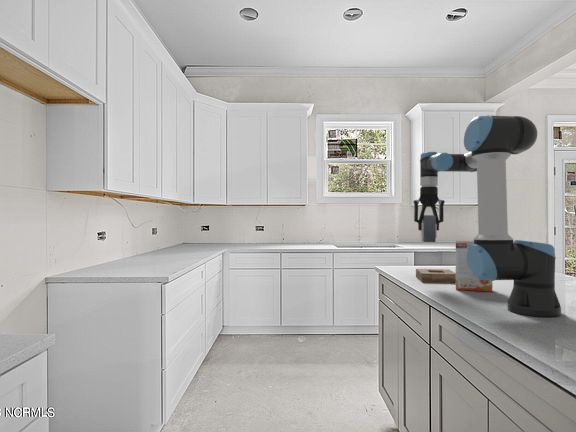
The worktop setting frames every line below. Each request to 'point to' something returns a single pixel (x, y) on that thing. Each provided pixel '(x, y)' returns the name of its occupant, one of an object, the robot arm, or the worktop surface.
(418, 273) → the socket plate
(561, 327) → the worktop surface
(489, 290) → the cracker box
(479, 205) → the robot arm
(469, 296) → the worktop surface
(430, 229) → the peg
